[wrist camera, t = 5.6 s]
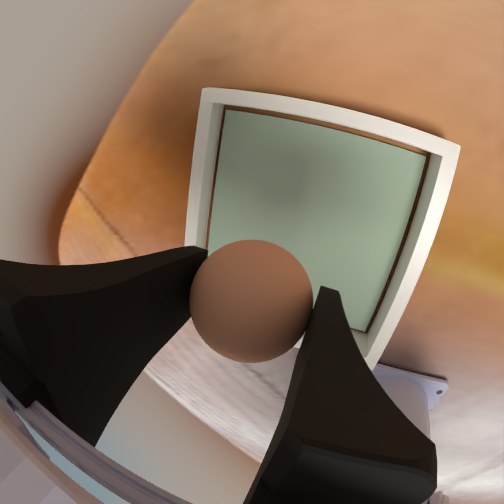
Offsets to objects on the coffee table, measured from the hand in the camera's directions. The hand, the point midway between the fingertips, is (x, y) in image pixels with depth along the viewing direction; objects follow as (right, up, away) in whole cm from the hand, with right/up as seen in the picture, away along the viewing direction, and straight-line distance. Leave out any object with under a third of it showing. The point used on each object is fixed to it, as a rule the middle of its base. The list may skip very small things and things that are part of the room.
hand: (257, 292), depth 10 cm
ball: (0, +1, +1) cm, 1 cm away
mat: (+3, +3, +7) cm, 8 cm away
